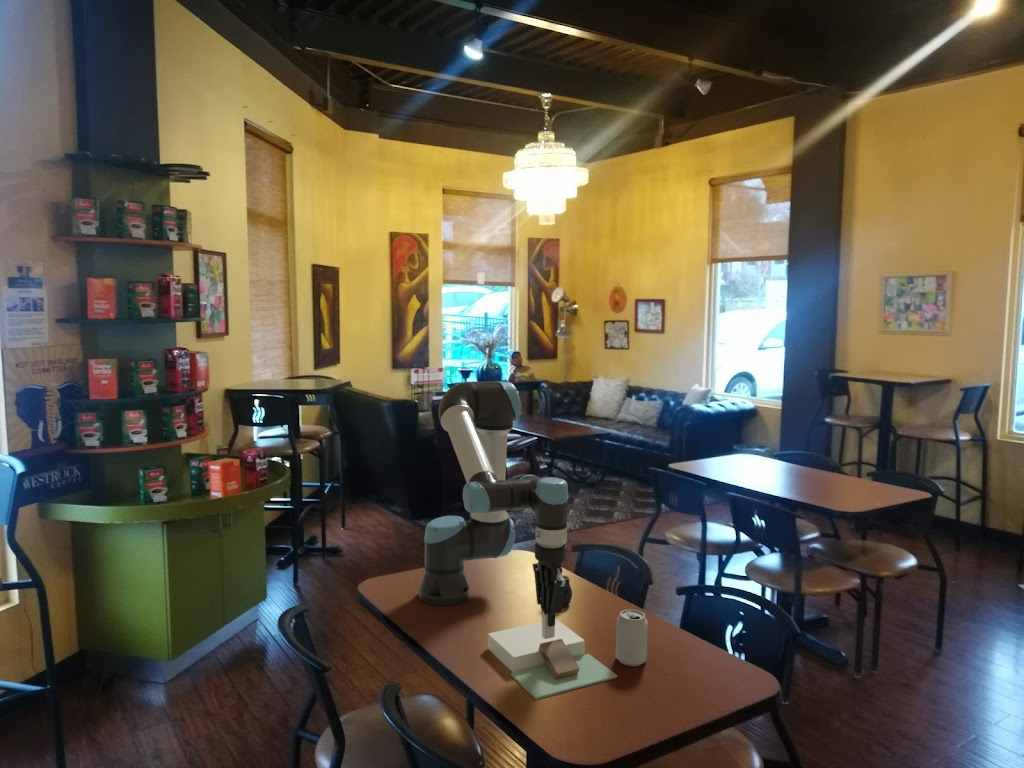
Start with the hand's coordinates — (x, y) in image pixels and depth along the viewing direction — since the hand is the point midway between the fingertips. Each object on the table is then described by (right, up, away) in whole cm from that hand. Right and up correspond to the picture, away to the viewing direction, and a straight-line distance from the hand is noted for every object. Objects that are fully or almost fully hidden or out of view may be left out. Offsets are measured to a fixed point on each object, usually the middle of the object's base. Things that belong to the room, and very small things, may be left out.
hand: (548, 636), depth 175 cm
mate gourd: (+5, -3, +36) cm, 36 cm away
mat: (+3, -7, -6) cm, 10 cm away
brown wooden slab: (+2, -5, -4) cm, 6 cm away
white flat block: (-3, -6, +6) cm, 9 cm away
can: (+21, -7, +2) cm, 22 cm away
